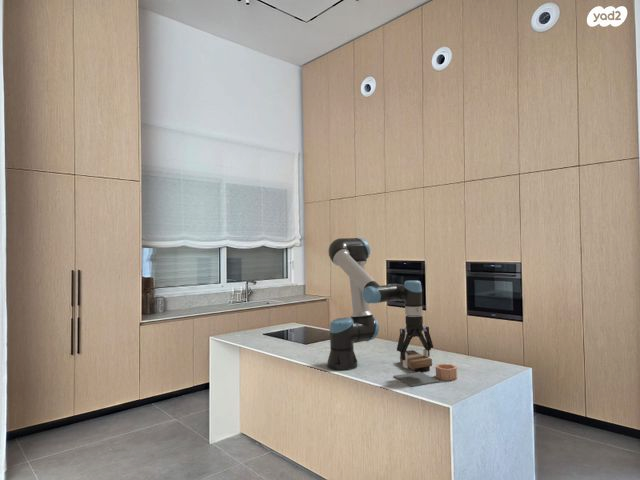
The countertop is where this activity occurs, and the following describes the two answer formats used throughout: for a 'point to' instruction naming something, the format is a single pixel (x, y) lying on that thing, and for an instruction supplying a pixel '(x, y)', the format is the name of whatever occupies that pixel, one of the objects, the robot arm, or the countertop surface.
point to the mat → (416, 379)
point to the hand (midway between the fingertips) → (415, 365)
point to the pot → (446, 372)
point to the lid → (417, 361)
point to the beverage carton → (417, 368)
